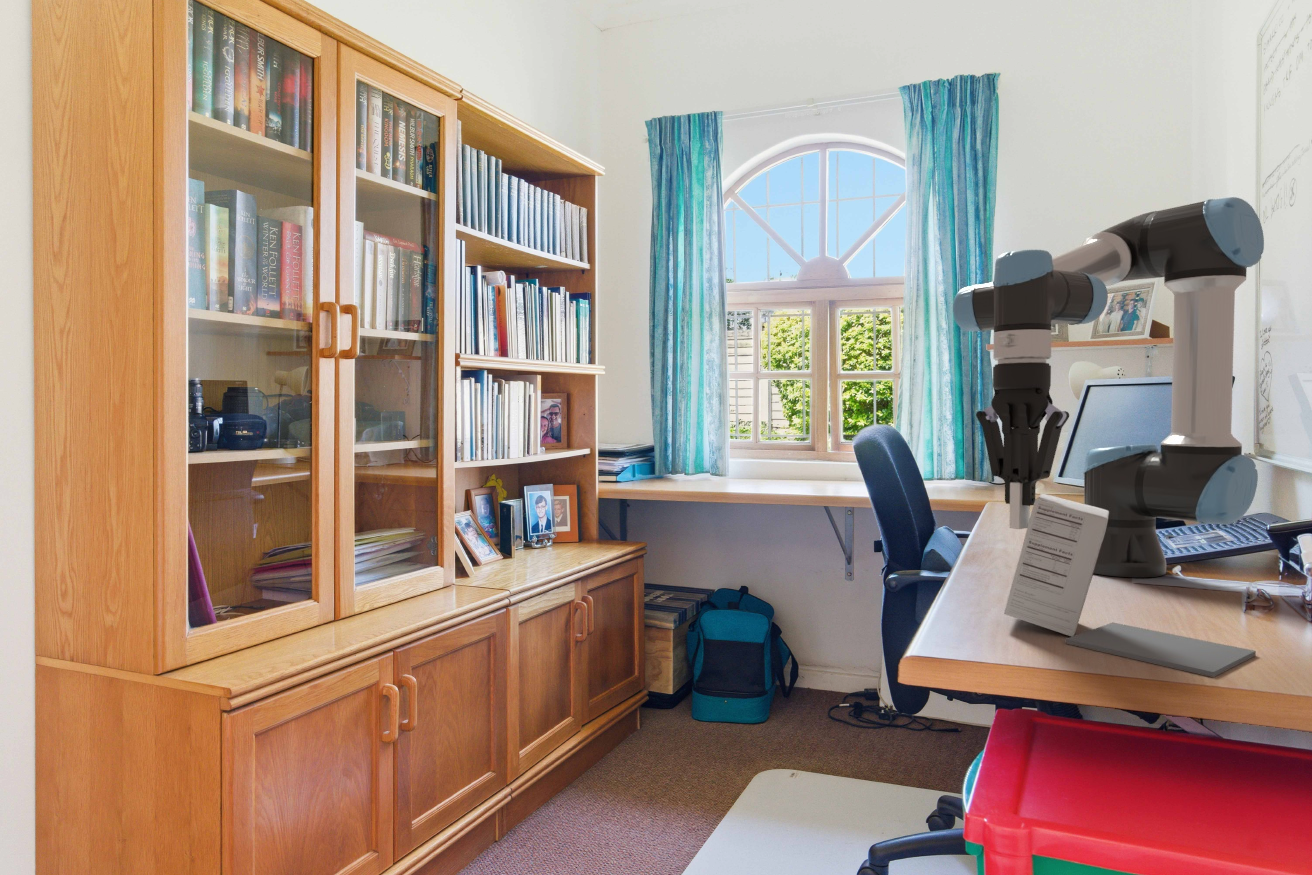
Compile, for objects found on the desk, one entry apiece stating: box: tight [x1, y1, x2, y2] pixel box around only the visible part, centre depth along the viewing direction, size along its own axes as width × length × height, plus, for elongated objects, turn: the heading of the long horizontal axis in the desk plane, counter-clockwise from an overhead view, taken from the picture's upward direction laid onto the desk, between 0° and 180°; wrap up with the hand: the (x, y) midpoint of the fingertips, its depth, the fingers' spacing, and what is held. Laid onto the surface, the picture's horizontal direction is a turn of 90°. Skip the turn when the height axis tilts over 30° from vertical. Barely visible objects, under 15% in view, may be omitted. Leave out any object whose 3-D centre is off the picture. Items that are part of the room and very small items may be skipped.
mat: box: [1065, 622, 1256, 678], centre depth 106 cm, size 13×17×1 cm
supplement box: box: [1003, 493, 1109, 637], centre depth 116 cm, size 10×9×17 cm
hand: (1019, 527), depth 119 cm, fingers closed
